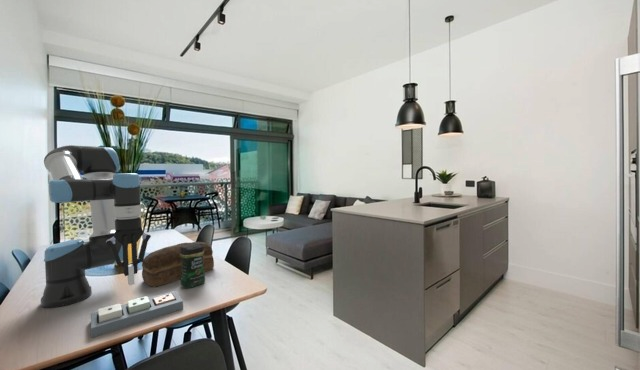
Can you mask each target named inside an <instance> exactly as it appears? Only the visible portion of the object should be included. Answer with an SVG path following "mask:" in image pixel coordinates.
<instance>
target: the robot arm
mask: <svg viewBox="0 0 640 370" xmlns="http://www.w3.org/2000/svg"><path fill="white" fill-rule="evenodd" d="M117 153H118V152H116V150H115V149H114V148H112V147H105V146H91V145H90V146H89V145H72V144H71V145H63V146H60V147H57V148H54V149H52V150H50V151H49V152H48V153H47V154H46V155H45V156H44V160H43V163H44V167H45V169H46V170H47V171H48V172H50V174H51V177H52V180H50V181H49V182H48V197H49V200H50V202H51V203H54V204H56V203H58V204H59V203H60V204H61V203H64V204H68V203H76V202H78V203H79V202H89V203H90V213H91V224H92V233H91V234H90V235H89V236H88V240H89V241H84V240H83V239H82V238H78V239H70V240H69V239H68V240H65V241H62V242H58V243H55V244H52V245H50V246H48V247H47V248H46V249H45V250H44V259H43V262H44V271H45V272H44V273H45V286H44V291H43V294H42V296H41V298H40V306H41V307H42V308H44V307H47V308H48V309H52V308H51V307H53V308H59V307H64V306H68V305H72V304H74V303H78V302H81V301H83V300H86V299H87V298H89V297H90V296H91V295H92V290H93V289H92V286H91V285H90V283H89V281H88V279H87V277H86V271H87V270H92V269H95V268H101V267H105V266H110V265H114V264H116V265H117V266H118V267H119V268H120V267H122V268H123V275H124V276H125V277H127V283H128V285H129V286H132V285H135V275H136V274H138V265H139V264H140V263H142V262H143V260H144V258H145V255H146V250H147V245H148V243H149V240H150V239H151V238H152V235H151V234H149V233H146V232H144V230H143V228H142V227H143V226H142V223H143V222H142V217H141V215H142V206H141V204H142V203H141V201H142V200H141V181H140V175H139V174H138V173H134V172H133V173H132V172H131V173H128V172H127V173H118V172H120V170H121V169H120V160H119V156H118V154H117ZM81 173H82V174H81ZM83 177H84V178H83ZM141 237H142V241H141V245H140V249H139V255H138V248H137V246H138V244H137V243H138V242H139V240H140V239H141ZM129 245H131V247H130V248H131V262H132V263H131V264H129ZM47 308H46V309H47Z"/></svg>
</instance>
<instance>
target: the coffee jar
mask: <svg viewBox="0 0 640 370" xmlns="http://www.w3.org/2000/svg"><path fill="white" fill-rule="evenodd" d="M203 254H204V247H203V244H201V243H195V244H190V245H185V246H182V247H181V251H180V256H181V258H182V275H181V279H180V286H181V287H182V288H186V289H191V288H194V287H197V286H199V285H203V284H204V283H205V282H206V277H205V276H206V275H205V272H204V268H203Z"/></svg>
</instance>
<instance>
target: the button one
mask: <svg viewBox="0 0 640 370" xmlns="http://www.w3.org/2000/svg"><path fill="white" fill-rule="evenodd" d="M121 305H122V304H121V303H115V304H112V305H109V306H105V307H101V308H97V309H98V310H97V312H99V322H103V321H106V320H110V319H113V318H117V317H120V316H122V308H121Z"/></svg>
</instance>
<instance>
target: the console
mask: <svg viewBox="0 0 640 370" xmlns="http://www.w3.org/2000/svg"><path fill="white" fill-rule="evenodd" d="M170 293H171V294H172V295H173V297H174V298H175V301H171V302H168V303H164V304H161V305H158V306H155V305H154V300H153V298H156V297H159V296H163V295H166V294H170ZM148 299H149V301H150V308H147V309H144V310H140V311H137V312H134V313H130V314H129V311H128V305H127V303H123V304H121V308H122V316H120V317H117V318H113V319H110V320H106V321H103V322H99V312H98V311H94V312H91V313H90V332H91V333H90V334H91V338H94V337H99V336H101V335H104V334H108V333H112V332H114V331H117V330H120V329H124V328H126V327H130V326H134V325H136V324H137V325H138V324H140V323H143V322H146V321H149V320H153V319H155V318H158V317H162V316H165V315H167V314H171V313H174V312H177V311H181V310H184V301H183V299H182V298H181V296H180V295H179V294H178V292H177V290H172V291H169V292H164V293H161V294H157V295H154V296H150V297H148Z"/></svg>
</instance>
